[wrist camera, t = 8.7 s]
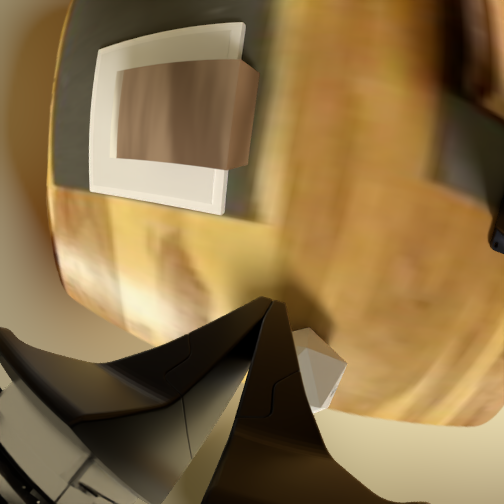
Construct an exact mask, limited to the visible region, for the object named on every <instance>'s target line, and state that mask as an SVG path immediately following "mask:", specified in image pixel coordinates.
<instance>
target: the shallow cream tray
mask: <svg viewBox="0 0 504 504" xmlns="http://www.w3.org/2000/svg"><path fill="white" fill-rule="evenodd" d="M245 30H246V25H245V24H244V23H243V22H235V23H220V24H210V25H201V26H194V27H187V28H181V29H175V30H170V31H164V32H160V33H155V34H151V35H146V36H142V37H139V38H135V39H131V40H128V41H124V42H121V43H118V44H114V45H111V46H108V47H105V48H102V49H99V52H98V57H97V63H96V69H95V76H94V84H93V93H92V103H91V116H90V135H89V179H90V191H91V192H97V193H103V194H109V195H115V196H121V197H127V198H132V199H138V200H144V201H149V202H155V203H160V204H166V205H171V206H176V207H181V208H187V209H192V210H197V211H202V212H207V213H212V214H217V215H222V214H223V213H225V201H226V190H227V179H228V170H220V169H213V168H206V167H199V166H191V165H183V164H174V163H165V162H156V161H145V160H134V159H120V158H110V134H111V119H112V107H113V97H114V89H115V81H116V74H117V71H121V70H126V69H131V68H137V67H143V66H149V65H156V64H164V63H172V62H182V61H195V60H215V59H241V58H242V51H243V44H244V37H245Z"/></svg>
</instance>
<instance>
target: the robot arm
mask: <svg viewBox="0 0 504 504" xmlns="http://www.w3.org/2000/svg"><path fill="white" fill-rule="evenodd" d="M495 242H496V245H495V246H494V244H495ZM490 247H491V248H492V249H493V250H494V251H497V252H500V253H502V254H504V197H503V200H502V204H501V208H500V212H499V215H498V219H497V222H496V226H495V229H494V232H493V236H492V239H491V241H490ZM0 363H1V365H2V366H3V368H4V369H5V371H6V372H7V374H8V375H9V377H10V378H11V380H12V382H11V383H10V384H9V385H8V386H7V387H6V388H5V389H4V390H3V391H2V389H1V388H0V504H134V503H135V502H136V500H137V499H138V498H139V499H141V500H143V501H144V502H146V503H148V504H161V503H162V502H163V501H164V499H165V498H166V497H167V495H168V494H169V492H170V491H171V490H172V488H173V487H174V485H175V484H176V483H177V481H178V480H179V478H180V477H181V476H182V474H183V473H184V471H185V470H186V468H187V466H188V465H189V464H190V462H191V460H192V459H193V458H194V456H195V455H196V453H197V452H198V450H199V449H200V447H201V446H202V444H203V443H204V441H205V440H206V438H207V437H208V435H209V434H210V432H211V430H212V429H213V427H214V426H215V424H216V423H217V421H218V419H219V417H220V416H221V415H222V413H223V411H224V410H225V408H226V406H227V405H228V403H229V401H230V400H231V398H232V397H233V395H234V393H235V392H236V390H237V388H238V386H239V385H240V383H241V381H242V380H243V378H244V376H245V375H246V373H247V371H248V369H249V371H248V374H247V378H246V381H245V385H244V388H243V392H242V395H241V399H240V402H239V406H238V409H237V413H236V416H235V420H234V423H233V426H232V429H231V432H230V435H229V438H228V441H227V443H226V445H225V448H224V450H223V453H222V455H221V458H220V460H219V462H218V465H217V467H216V469H215V472H214V474H213V477H212V479H211V481H210V484H209V486H208V488H207V490H206V492H205V495H204V497H203V500H202V502H201V504H430V503H428V502H406V503H400V502H393V501H388V500H386V499H384V498H381V497H379V496H378V495H376V494H375V493H373V492H372V491H371V490H370V489H368V488H367V487H366V486H364V485H363V484H362V483H361V482H360V481H358V480H357V479H356V478H355V477H353V476H352V475H351V474H350V473H349V472H347V471H346V470H345V469H344V468H343V467H342V466H340V465H339V464H338V463H337V462H336V461H335V460H334V459H333V458H332V456H331V455H330V453H329V452H328V450H327V448H326V446H325V444H324V441H323V439H322V436H321V433H320V431H319V428H318V426H317V423H316V420H315V418H314V415H313V413H312V410H311V407H310V404H309V401H308V399H307V396H306V392H305V388H304V384H303V380H302V375H301V372H300V367H299V362H298V357H297V353H296V348H295V343H294V339H293V334H292V330H291V325H290V321H289V316H288V312H287V307H286V304H285V303H284V302H280V301H277V300H274V301H273V300H272V299H270V298H266V297H263V296H261V297H259V298H257V299H255V300H253V301H251V302H249V303H247V304H245V305H244V306H242V307H240V308H238V309H236V310H234V311H232V312H230V313H228V314H226V315H224V316H222V317H220V318H218V319H216V320H214V321H212V322H210V323H208V324H206V325H204V326H202V327H200V328H198V329H196V330H194V331H192V332H190V333H189V334H186V335H184V336H181V337H179V338H177V339H175V340H173V341H170V342H168V343H166V344H163V345H161V346H158V347H155V348H153V349H150V350H147V351H144V352H141V353H138V354H135V355H131V356H128V357H125V358H122V359H119V360H115V361H112V362H107V363H91V362H86V361H82V360H77V359H73V358H69V357H65V356H62V355H58V354H54V353H51V352H47V351H44V350H41V349H37V348H34V347H32V346H30V345H28V344H25V343H24V342H22V341H20V340H19V339H18V338H17V337H16V336H15V335H14V334H13V333H12V332H11V331H10V330H9V329H7V328H3V327H0Z"/></svg>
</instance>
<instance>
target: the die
mask: <svg viewBox="0 0 504 504" xmlns="http://www.w3.org/2000/svg"><path fill="white" fill-rule="evenodd" d="M292 334H293V339H294V343H295V348H296V353H297V357H298V362H299V367H300V372H301V375H302V380H303V384H304V388H305V392H306V396H307V399H308V401H309V404H310V407H311V410H312V413H316V412H318V411H321V410H324V409H326V408H328V406H329V404H330V402H331V400H332V398H333V396H334V393H335V391H336V389H337V387H338V385H339V382H340V380H341V378H342V375H343V373H344V371H345V368H346V366H347V363H346V362H345V361H344V360H343V359H342V358H341V357H340V356H339V355H338V354H337V353H336V352H335V351H334V350H333V349H332V348H331V347H330V346H329V345H327V344H326V343H325V342H324V341H323V340H322V339H321V338H320V337H319V336H318V335H317V334H316V333H315V332H314V331H313V330H312V329H311V328H310V327H308V328H304V329H300V330H296V331H292Z"/></svg>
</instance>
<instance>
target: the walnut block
mask: <svg viewBox="0 0 504 504" xmlns="http://www.w3.org/2000/svg"><path fill="white" fill-rule="evenodd" d="M259 76H260V73H258V72H257V71H256V70H255V69H253V68H252V67H251V66H249V65H248V64H246V63H245V62H244V61H242V60H241V59H215V60H195V61H182V62H172V63H164V64H156V65H149V66H143V67H137V68H131V69H126V70H121V71H117V74H116V81H115V89H114V97H113V107H112V119H111V134H110V158H120V159H134V160H145V161H156V162H165V163H174V164H183V165H191V166H199V167H206V168H213V169H220V170H230V169H233V168H237V167H240V166H244V165H247V164H248V157H249V150H250V142H251V134H252V127H253V119H254V112H255V105H256V97H257V90H258V83H259Z"/></svg>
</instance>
